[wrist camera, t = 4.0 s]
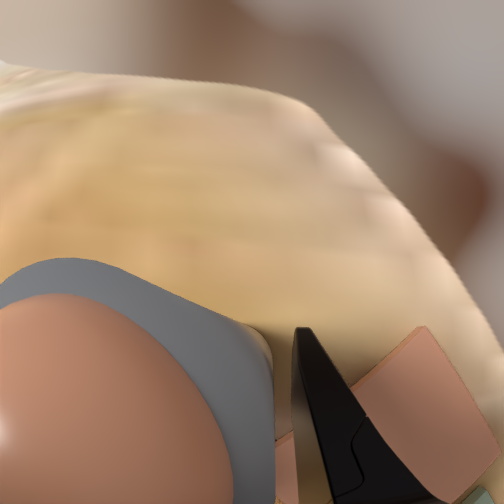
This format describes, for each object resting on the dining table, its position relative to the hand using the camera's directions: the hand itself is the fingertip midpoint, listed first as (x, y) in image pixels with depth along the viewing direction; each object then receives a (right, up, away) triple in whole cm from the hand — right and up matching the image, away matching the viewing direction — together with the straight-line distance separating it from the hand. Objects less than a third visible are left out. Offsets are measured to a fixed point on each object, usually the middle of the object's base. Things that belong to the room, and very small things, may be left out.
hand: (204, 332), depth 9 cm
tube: (0, -3, +6) cm, 7 cm away
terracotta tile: (+9, -9, +4) cm, 13 cm away
